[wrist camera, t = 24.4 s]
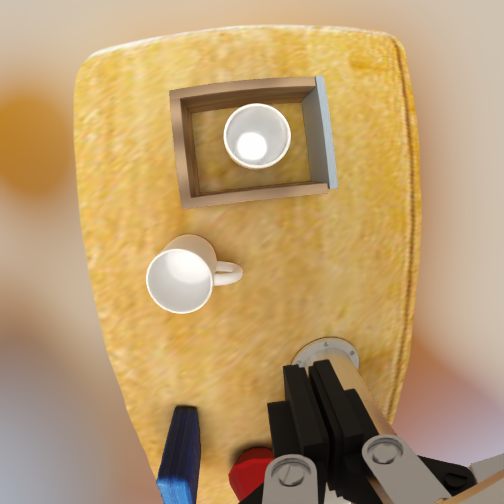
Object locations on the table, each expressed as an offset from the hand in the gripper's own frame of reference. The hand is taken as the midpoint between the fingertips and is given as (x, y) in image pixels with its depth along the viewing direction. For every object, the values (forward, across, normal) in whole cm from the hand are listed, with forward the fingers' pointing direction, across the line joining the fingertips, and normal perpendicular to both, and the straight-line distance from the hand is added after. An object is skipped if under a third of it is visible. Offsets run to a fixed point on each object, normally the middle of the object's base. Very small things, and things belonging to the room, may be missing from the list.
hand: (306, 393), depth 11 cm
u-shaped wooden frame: (+37, 0, -12) cm, 39 cm away
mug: (+37, +8, +4) cm, 38 cm away
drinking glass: (+37, -1, -12) cm, 39 cm away
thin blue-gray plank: (+37, -10, -12) cm, 40 cm away
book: (+37, +17, +38) cm, 56 cm away
